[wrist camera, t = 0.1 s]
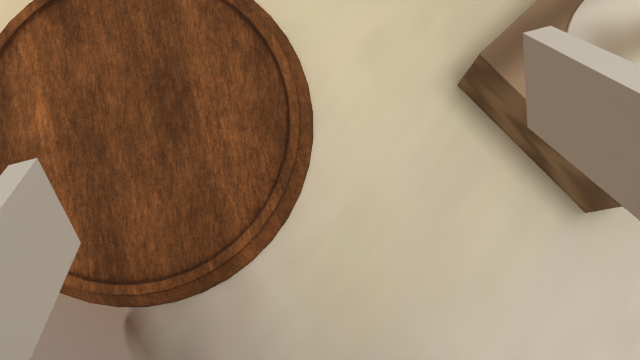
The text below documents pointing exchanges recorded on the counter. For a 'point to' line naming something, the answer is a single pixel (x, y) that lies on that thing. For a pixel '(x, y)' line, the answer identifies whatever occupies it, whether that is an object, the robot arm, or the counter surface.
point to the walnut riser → (509, 79)
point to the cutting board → (157, 136)
